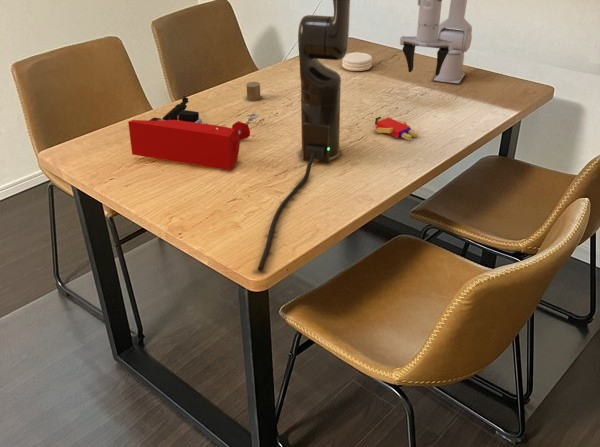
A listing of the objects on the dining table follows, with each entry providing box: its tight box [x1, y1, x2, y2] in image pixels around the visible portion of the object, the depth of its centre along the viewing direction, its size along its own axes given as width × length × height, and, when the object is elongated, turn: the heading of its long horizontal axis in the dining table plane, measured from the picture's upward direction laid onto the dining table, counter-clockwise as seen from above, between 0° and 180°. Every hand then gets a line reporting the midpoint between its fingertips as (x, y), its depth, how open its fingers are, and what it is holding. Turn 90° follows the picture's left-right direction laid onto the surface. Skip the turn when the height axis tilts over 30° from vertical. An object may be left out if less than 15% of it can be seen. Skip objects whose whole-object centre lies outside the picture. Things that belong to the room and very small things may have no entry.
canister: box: [245, 81, 262, 102], centre depth 184 cm, size 4×4×4 cm
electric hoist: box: [127, 96, 260, 171], centre depth 159 cm, size 10×27×30 cm
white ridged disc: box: [341, 52, 373, 72], centre depth 207 cm, size 10×10×4 cm
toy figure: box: [374, 116, 418, 141], centre depth 162 cm, size 2×7×12 cm
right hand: (424, 72), depth 174 cm, fingers open, 7 cm apart
